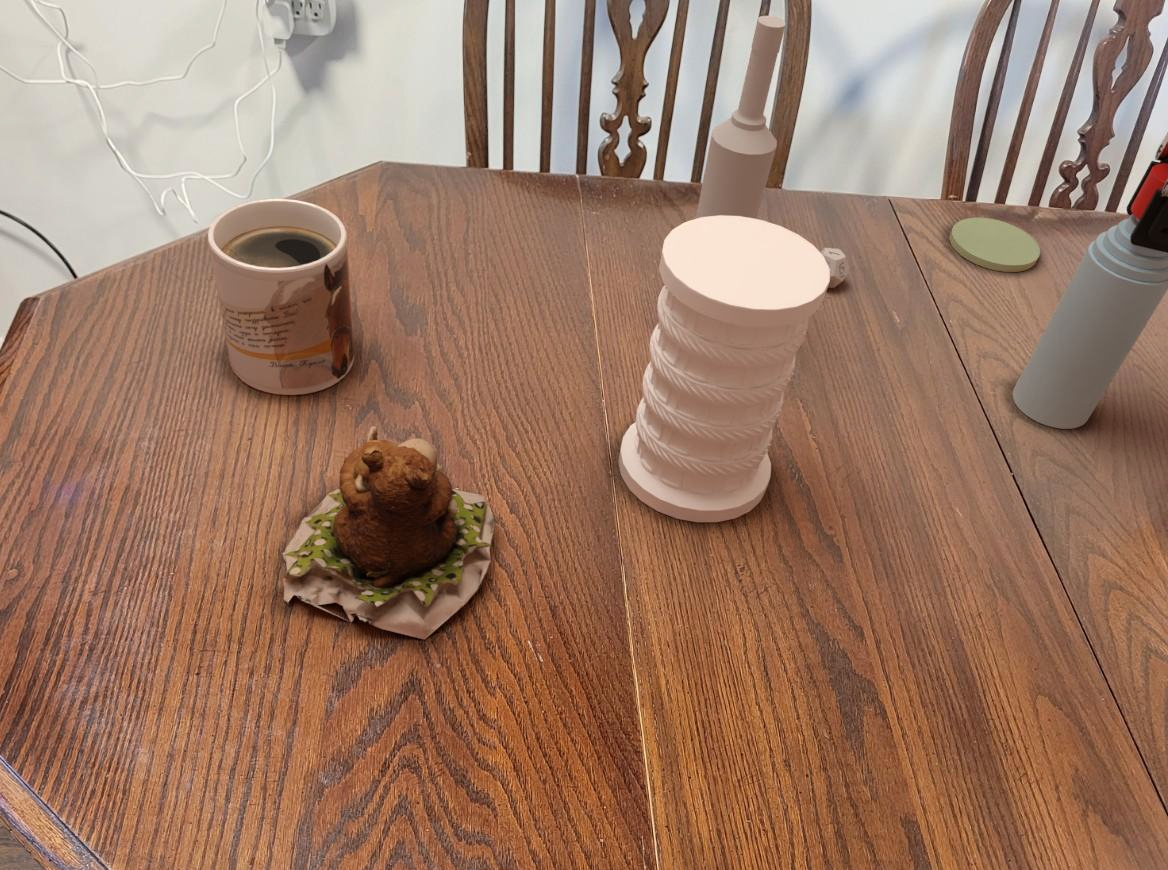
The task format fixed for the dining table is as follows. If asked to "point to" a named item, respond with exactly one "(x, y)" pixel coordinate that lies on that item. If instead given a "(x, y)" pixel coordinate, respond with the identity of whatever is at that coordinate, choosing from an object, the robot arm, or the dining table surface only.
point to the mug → (284, 294)
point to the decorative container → (720, 364)
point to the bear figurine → (392, 541)
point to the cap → (1150, 188)
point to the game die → (836, 265)
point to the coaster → (994, 244)
